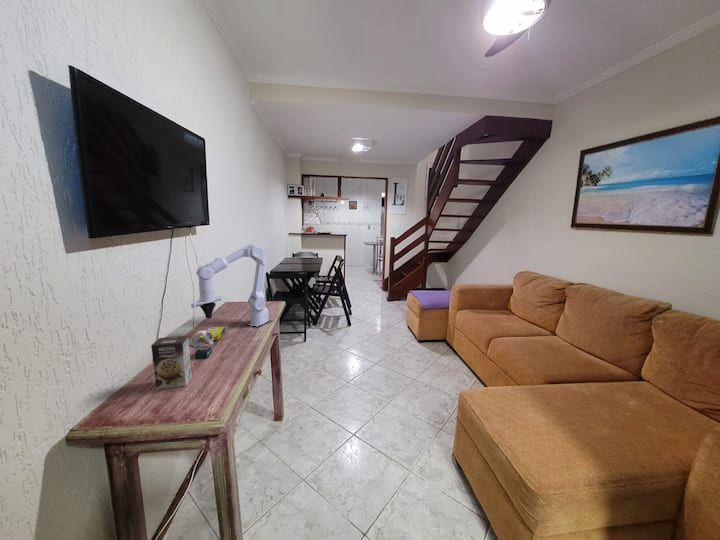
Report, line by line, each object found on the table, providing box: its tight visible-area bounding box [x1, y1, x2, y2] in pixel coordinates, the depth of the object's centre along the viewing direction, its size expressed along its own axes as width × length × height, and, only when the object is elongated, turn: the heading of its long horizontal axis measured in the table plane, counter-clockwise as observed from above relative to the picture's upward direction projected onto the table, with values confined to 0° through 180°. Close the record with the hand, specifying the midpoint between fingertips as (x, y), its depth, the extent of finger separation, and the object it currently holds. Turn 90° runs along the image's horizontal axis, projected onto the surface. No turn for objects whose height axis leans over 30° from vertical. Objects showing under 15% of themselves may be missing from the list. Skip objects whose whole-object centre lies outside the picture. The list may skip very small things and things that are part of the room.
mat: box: [188, 334, 224, 348], centre depth 126 cm, size 14×10×1 cm
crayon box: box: [200, 326, 226, 341], centre depth 127 cm, size 7×3×12 cm
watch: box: [190, 329, 215, 360], centre depth 110 cm, size 6×8×11 cm
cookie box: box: [150, 335, 193, 391], centre depth 91 cm, size 9×6×16 cm
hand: (208, 317), depth 129 cm, fingers closed
